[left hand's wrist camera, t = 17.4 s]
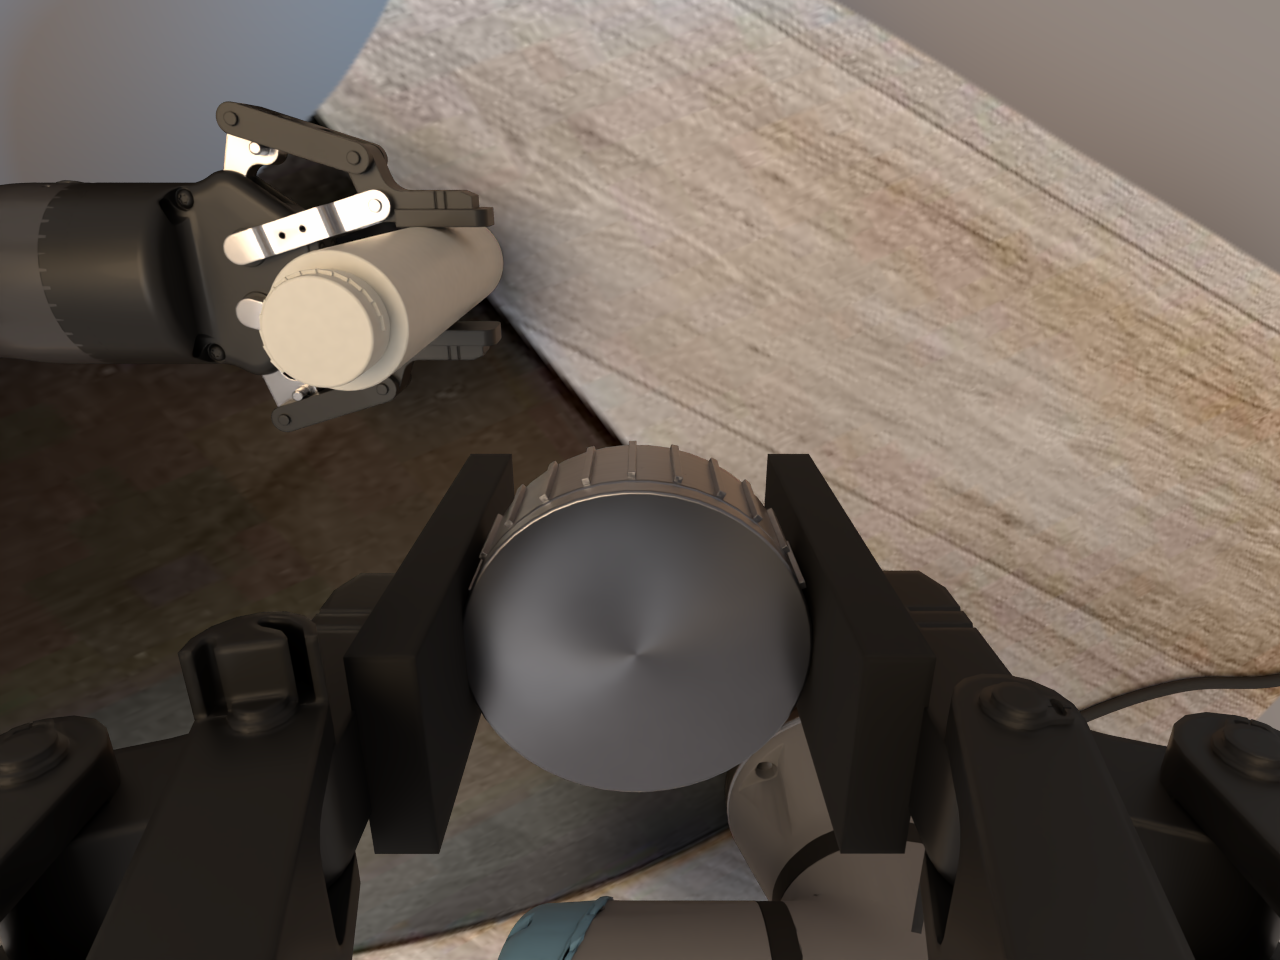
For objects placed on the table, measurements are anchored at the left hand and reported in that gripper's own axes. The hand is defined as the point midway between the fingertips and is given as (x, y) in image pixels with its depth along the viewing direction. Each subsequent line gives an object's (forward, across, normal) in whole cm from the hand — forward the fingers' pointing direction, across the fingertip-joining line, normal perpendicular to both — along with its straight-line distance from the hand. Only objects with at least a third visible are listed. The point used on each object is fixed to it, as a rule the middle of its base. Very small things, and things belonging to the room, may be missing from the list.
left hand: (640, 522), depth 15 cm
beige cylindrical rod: (+27, +9, -2) cm, 29 cm away
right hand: (+21, +6, -2) cm, 22 cm away
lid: (-4, 0, 0) cm, 4 cm away
